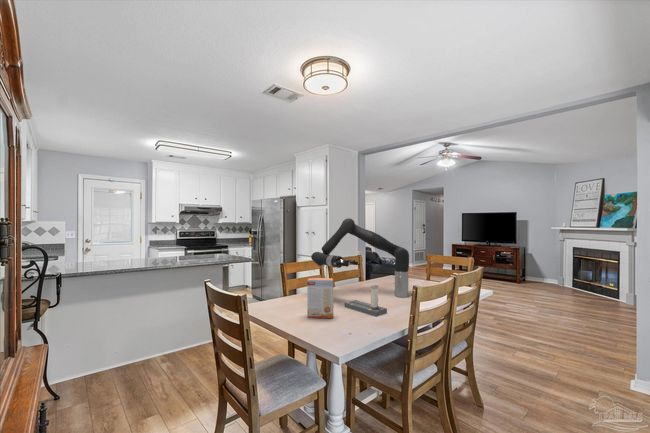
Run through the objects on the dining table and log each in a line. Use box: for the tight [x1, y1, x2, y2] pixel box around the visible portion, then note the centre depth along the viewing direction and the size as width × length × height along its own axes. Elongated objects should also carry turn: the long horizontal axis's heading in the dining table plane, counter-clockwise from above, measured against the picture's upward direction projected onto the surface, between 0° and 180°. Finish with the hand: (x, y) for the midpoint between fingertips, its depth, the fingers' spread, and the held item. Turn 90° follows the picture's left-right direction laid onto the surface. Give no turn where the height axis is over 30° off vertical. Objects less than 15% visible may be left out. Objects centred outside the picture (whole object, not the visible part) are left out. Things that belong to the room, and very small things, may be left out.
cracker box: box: [306, 277, 334, 319], centre depth 173 cm, size 14×6×21 cm, turn 84°
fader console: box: [344, 299, 388, 317], centre depth 186 cm, size 24×10×3 cm, turn 42°
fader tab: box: [370, 284, 380, 309], centre depth 180 cm, size 4×4×13 cm
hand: (353, 264), depth 193 cm, fingers open, 8 cm apart
